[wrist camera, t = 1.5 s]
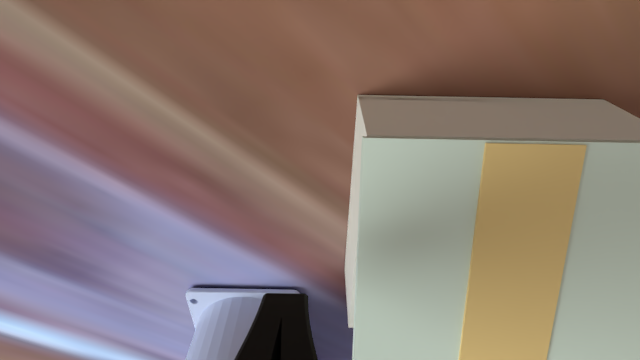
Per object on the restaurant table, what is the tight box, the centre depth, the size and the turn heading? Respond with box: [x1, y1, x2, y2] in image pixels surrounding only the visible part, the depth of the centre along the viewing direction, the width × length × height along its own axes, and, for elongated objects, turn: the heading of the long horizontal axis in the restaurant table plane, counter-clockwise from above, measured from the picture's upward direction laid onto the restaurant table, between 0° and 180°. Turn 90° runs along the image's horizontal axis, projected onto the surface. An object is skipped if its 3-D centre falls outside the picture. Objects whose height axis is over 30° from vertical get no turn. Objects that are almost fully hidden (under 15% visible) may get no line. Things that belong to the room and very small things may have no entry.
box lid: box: [352, 136, 640, 360], centre depth 14 cm, size 12×12×1 cm
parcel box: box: [345, 95, 640, 328], centre depth 19 cm, size 12×12×4 cm
